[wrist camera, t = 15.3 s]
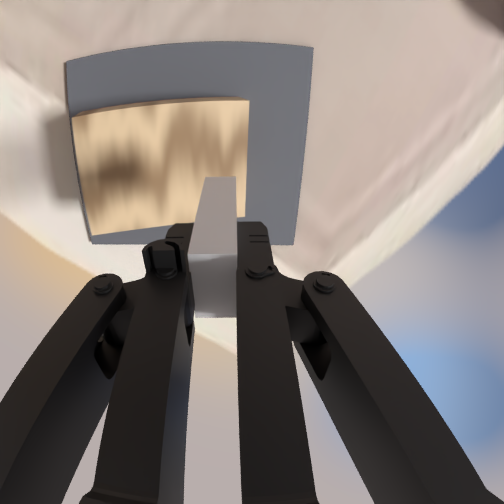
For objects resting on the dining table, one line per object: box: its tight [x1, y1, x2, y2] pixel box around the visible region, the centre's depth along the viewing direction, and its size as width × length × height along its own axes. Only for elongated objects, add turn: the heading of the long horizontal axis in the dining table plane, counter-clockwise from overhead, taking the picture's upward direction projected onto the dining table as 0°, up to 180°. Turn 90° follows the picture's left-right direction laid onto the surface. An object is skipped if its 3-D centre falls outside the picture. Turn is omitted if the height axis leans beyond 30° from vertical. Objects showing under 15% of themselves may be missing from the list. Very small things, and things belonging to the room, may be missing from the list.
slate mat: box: [66, 42, 314, 245], centre depth 24 cm, size 18×20×1 cm
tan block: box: [72, 97, 249, 236], centre depth 21 cm, size 9×3×12 cm
